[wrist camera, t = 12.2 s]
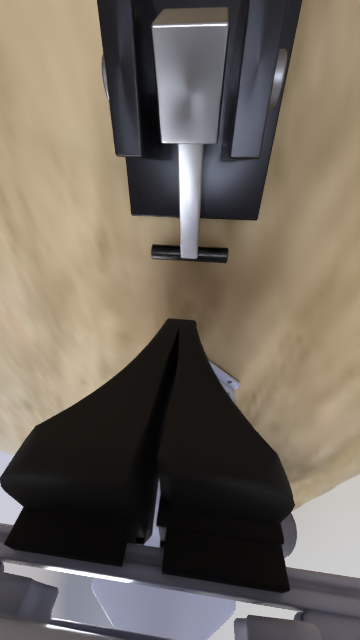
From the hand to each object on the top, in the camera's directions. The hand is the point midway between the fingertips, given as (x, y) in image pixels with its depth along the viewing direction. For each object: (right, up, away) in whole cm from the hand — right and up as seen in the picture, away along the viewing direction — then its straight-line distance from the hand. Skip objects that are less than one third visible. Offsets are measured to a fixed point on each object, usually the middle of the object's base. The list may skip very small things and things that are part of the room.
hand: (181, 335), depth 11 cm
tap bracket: (+1, +13, +3) cm, 14 cm away
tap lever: (+1, +9, +1) cm, 9 cm away
